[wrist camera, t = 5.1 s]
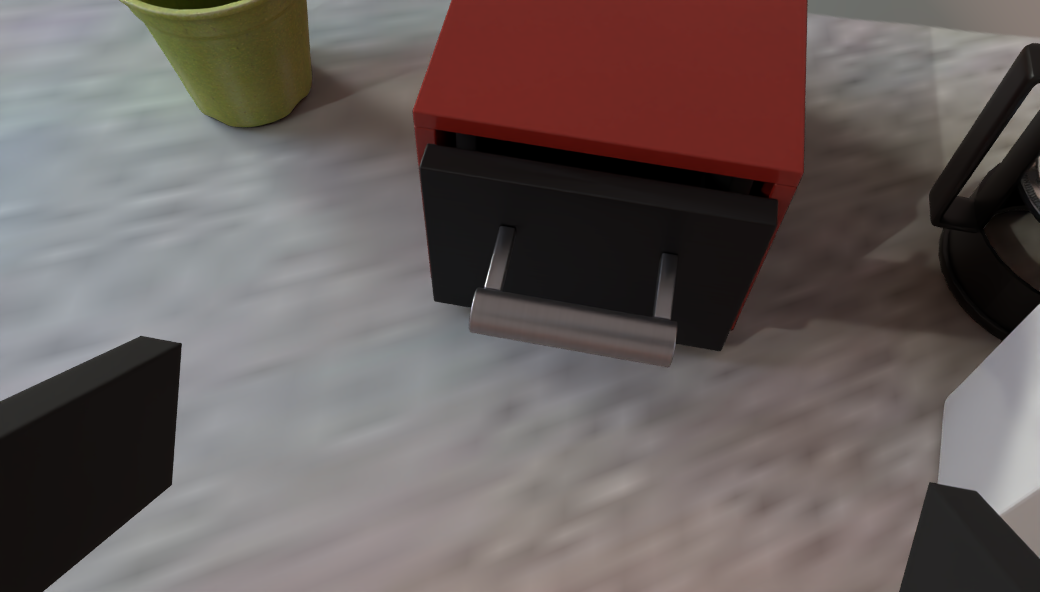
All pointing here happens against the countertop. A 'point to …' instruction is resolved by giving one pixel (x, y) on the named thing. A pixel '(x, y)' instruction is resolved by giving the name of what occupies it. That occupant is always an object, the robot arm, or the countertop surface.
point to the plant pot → (235, 54)
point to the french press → (990, 206)
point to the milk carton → (999, 431)
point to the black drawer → (590, 247)
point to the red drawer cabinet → (629, 84)
